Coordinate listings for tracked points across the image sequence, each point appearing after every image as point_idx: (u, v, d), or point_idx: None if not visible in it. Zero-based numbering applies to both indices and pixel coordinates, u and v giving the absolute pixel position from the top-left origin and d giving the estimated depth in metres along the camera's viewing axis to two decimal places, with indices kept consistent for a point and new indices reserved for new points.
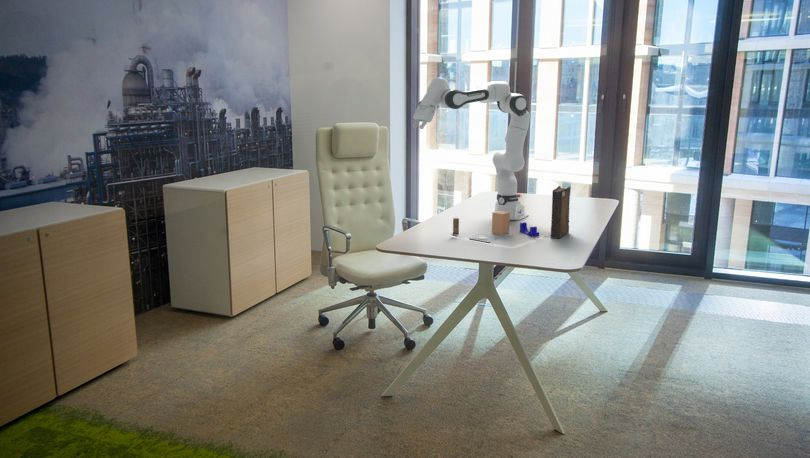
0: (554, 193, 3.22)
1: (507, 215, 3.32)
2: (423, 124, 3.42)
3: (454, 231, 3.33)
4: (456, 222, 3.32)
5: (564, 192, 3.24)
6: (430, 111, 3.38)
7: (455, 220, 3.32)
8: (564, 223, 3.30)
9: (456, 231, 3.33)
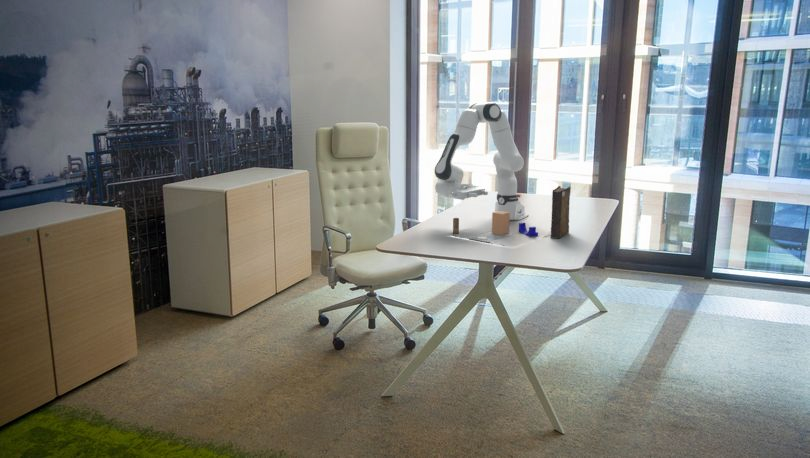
0: (554, 193, 3.22)
1: (507, 215, 3.32)
2: (471, 195, 3.36)
3: (454, 231, 3.33)
4: (456, 222, 3.32)
5: (564, 192, 3.24)
6: (456, 196, 3.38)
7: (455, 220, 3.32)
8: (564, 223, 3.30)
9: (456, 231, 3.33)
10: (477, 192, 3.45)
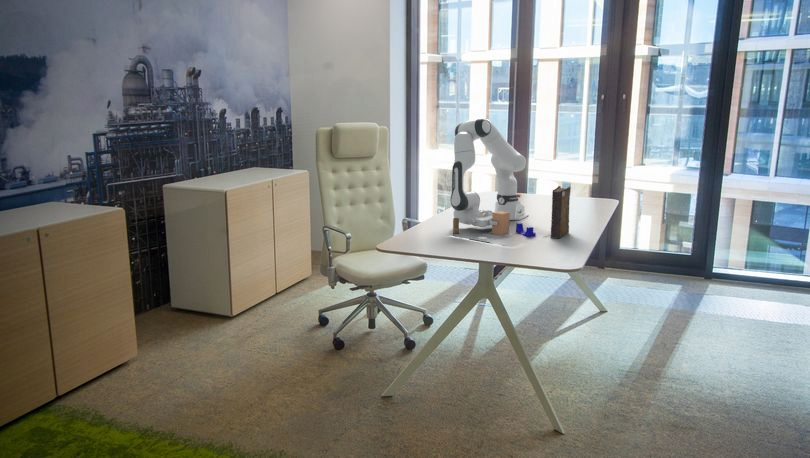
0: (554, 193, 3.22)
1: (507, 215, 3.32)
2: (492, 223, 3.31)
3: (454, 231, 3.33)
4: (456, 222, 3.32)
5: (564, 192, 3.24)
6: (475, 224, 3.33)
7: (455, 220, 3.32)
8: (564, 223, 3.30)
9: (456, 231, 3.33)
10: None
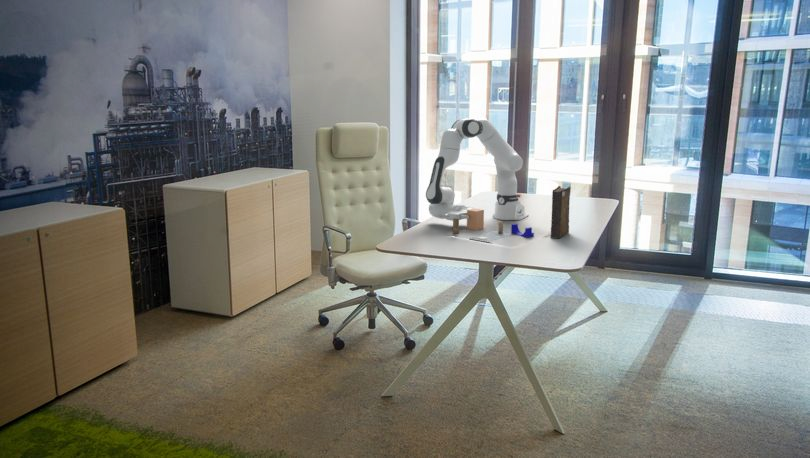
0: (554, 193, 3.22)
1: (481, 212, 3.44)
2: (463, 217, 3.43)
3: (454, 231, 3.33)
4: (456, 222, 3.32)
5: (564, 192, 3.24)
6: (449, 218, 3.45)
7: (455, 220, 3.32)
8: (564, 223, 3.30)
9: (456, 231, 3.33)
10: None
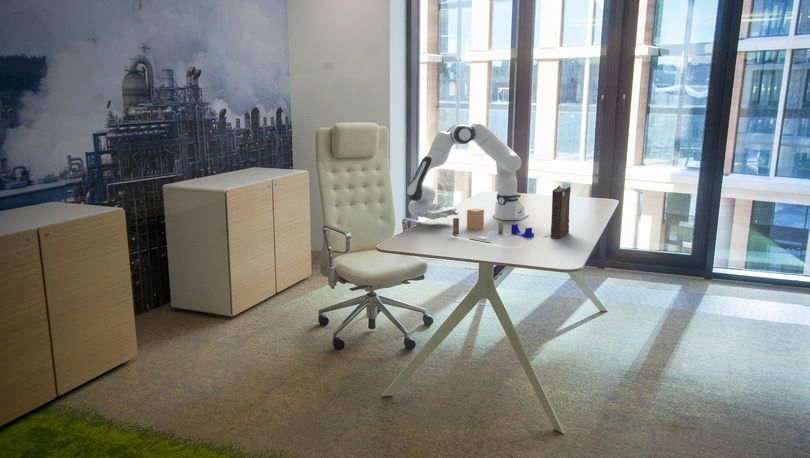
0: (554, 193, 3.22)
1: (481, 212, 3.44)
2: (441, 215, 3.48)
3: (454, 231, 3.33)
4: (456, 222, 3.32)
5: (564, 192, 3.24)
6: (426, 216, 3.50)
7: (455, 220, 3.32)
8: (564, 223, 3.30)
9: (456, 231, 3.33)
10: (448, 212, 3.57)
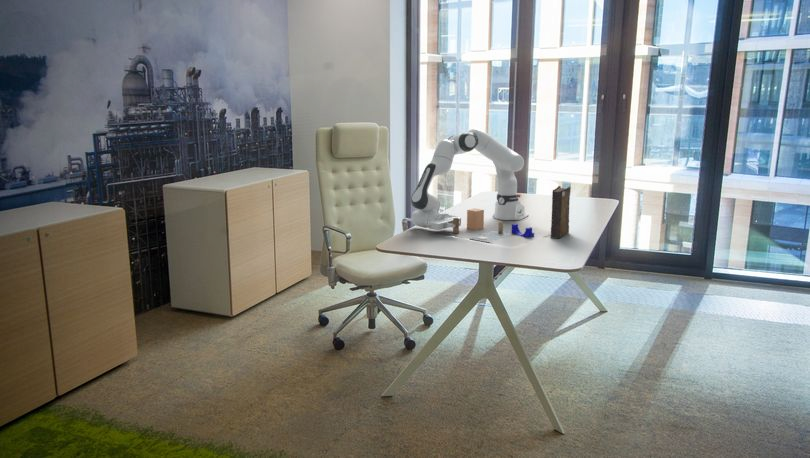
0: (554, 193, 3.22)
1: (481, 212, 3.44)
2: (449, 225, 3.32)
3: (454, 231, 3.33)
4: (456, 222, 3.32)
5: (564, 192, 3.24)
6: (430, 227, 3.33)
7: (455, 220, 3.32)
8: (564, 223, 3.30)
9: (456, 231, 3.33)
10: None
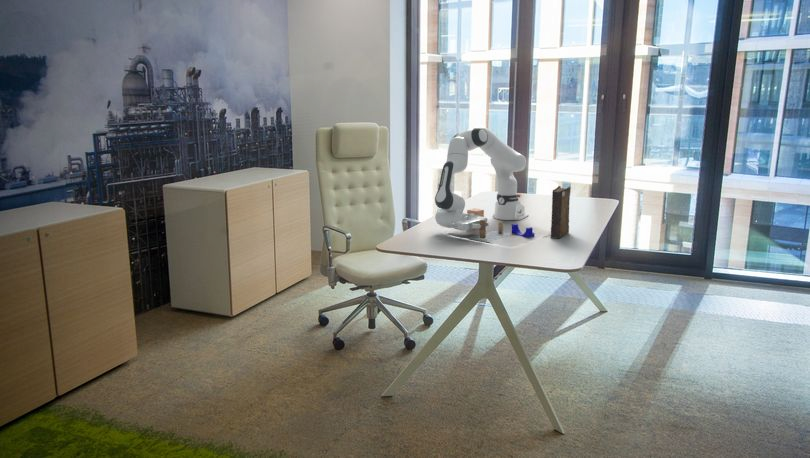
0: (554, 193, 3.22)
1: (481, 212, 3.44)
2: (475, 226, 3.20)
3: (481, 233, 3.22)
4: (483, 224, 3.20)
5: (564, 192, 3.24)
6: (456, 227, 3.21)
7: (482, 222, 3.20)
8: (564, 223, 3.30)
9: (483, 233, 3.21)
10: (479, 222, 3.27)
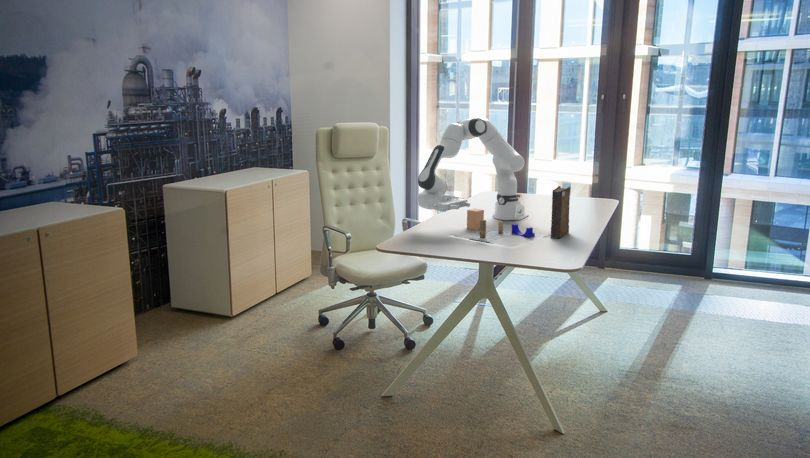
0: (554, 193, 3.22)
1: (481, 212, 3.44)
2: (452, 207, 3.25)
3: (481, 233, 3.22)
4: (483, 224, 3.20)
5: (564, 192, 3.24)
6: (437, 208, 3.28)
7: (482, 222, 3.20)
8: (564, 223, 3.30)
9: (483, 233, 3.21)
10: (459, 204, 3.34)
